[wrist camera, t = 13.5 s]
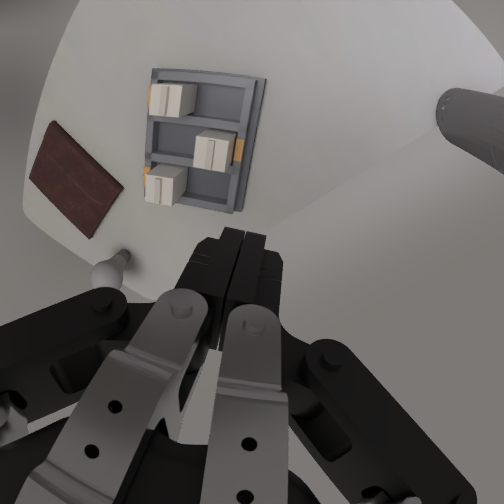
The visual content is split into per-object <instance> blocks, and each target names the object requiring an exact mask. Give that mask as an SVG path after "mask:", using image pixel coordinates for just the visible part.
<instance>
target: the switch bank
mask: <svg viewBox="0 0 504 504" xmlns="http://www.w3.org/2000/svg"><path fill="white" fill-rule="evenodd" d="M169 82H173V83H188V84H198V88H197V95H196V102H195V110H194V112H193V113H190V114H187V115H184V116H182V117H179V118H177V117H167V116H155V115H149V106H150V96H151V86H152V84H157V83H169ZM265 82H266V79H263V78H257V77H250V76H244V75H236V74H228V73H220V72H210V71H198V70H183V69H152V76H151V85H150V86H149V95H148V116H147V130H146V148H145V166H144V197H145V182H146V174H147V173H148V172H149V171H151V170H152V169H153V168H155V167H156V166H158V165H159V164H160V163H169V164H176V165H182V166H188V175H187V187H186V191H185V192H184V193H183V194H182V195H181V196H180V198H179V199H178V200H177V201H176V202H175V203H179V204H185V205H190V206H195V207H200V208H205V209H210V210H215V211H220V212H225V213H230V214H233V212H234V211H239V212H241V211H242V208H243V202H244V196H245V190H246V185H247V179H248V174H249V168H250V162H251V157H252V151H253V146H254V141H255V135H256V130H257V124H258V119H259V114H260V108H261V103H262V98H263V93H264V88H265ZM208 128H214V129H221V130H227V131H233V132H238V136H237V140H236V146H235V152H234V159H233V161H232V163H231V164H230V165H229V167H228V168H227V169H226V171H225V172H219V171H214V170H207V169H202V168H196V167H193V161H194V151H195V142H196V136H197V135H199V134H200V133H202V132H203V131H205V130H207V129H208Z"/></svg>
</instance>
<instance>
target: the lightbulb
mask: <svg viewBox="0 0 504 504" xmlns="http://www.w3.org/2000/svg"><path fill="white" fill-rule="evenodd" d="M129 259H130V256H129V253H128V252H127V251H125V250H120V251H119V252H118V253H117V254H116V255H114V256H113V257H112V258H111V259H109V260H105V261H101V262H99V263H97V264H96V265H95V266H94V267H93V269H92V271H91V274H90V280H91V285H92V287H93V288H94V289H95V288H99V287H112V288H115V289H118V290H119V289H120V288H121V286H122V282H123V271H124V269H125V267H126V264H127V262H128V261H129Z"/></svg>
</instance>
